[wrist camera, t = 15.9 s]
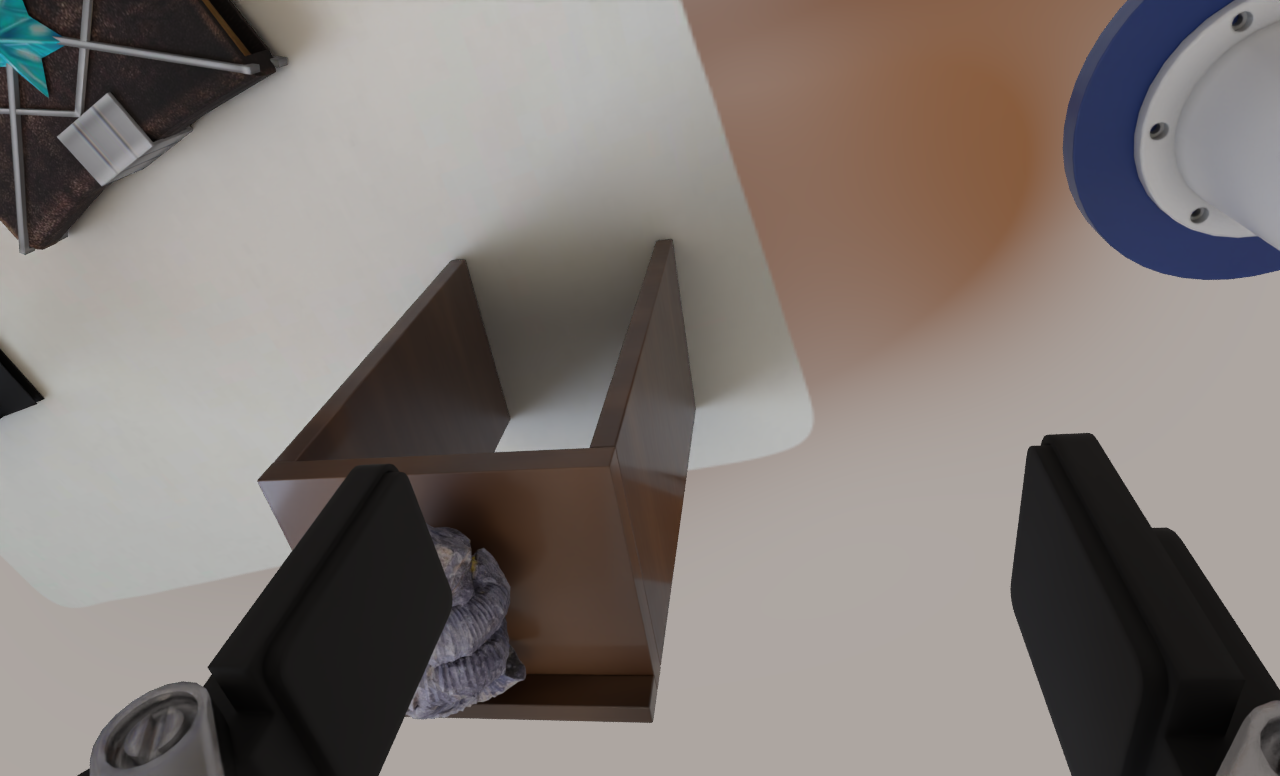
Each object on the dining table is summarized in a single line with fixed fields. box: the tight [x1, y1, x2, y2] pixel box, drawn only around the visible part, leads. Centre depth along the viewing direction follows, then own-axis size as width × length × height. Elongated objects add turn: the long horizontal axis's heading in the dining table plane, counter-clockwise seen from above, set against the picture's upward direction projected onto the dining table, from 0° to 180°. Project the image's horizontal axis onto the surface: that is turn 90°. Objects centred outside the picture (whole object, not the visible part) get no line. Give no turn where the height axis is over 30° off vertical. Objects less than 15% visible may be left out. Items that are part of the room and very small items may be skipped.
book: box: [0, 0, 288, 255], centre depth 42 cm, size 22×17×5 cm
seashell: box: [406, 523, 526, 719], centre depth 29 cm, size 5×5×10 cm
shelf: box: [257, 239, 696, 723], centre depth 40 cm, size 14×12×24 cm
